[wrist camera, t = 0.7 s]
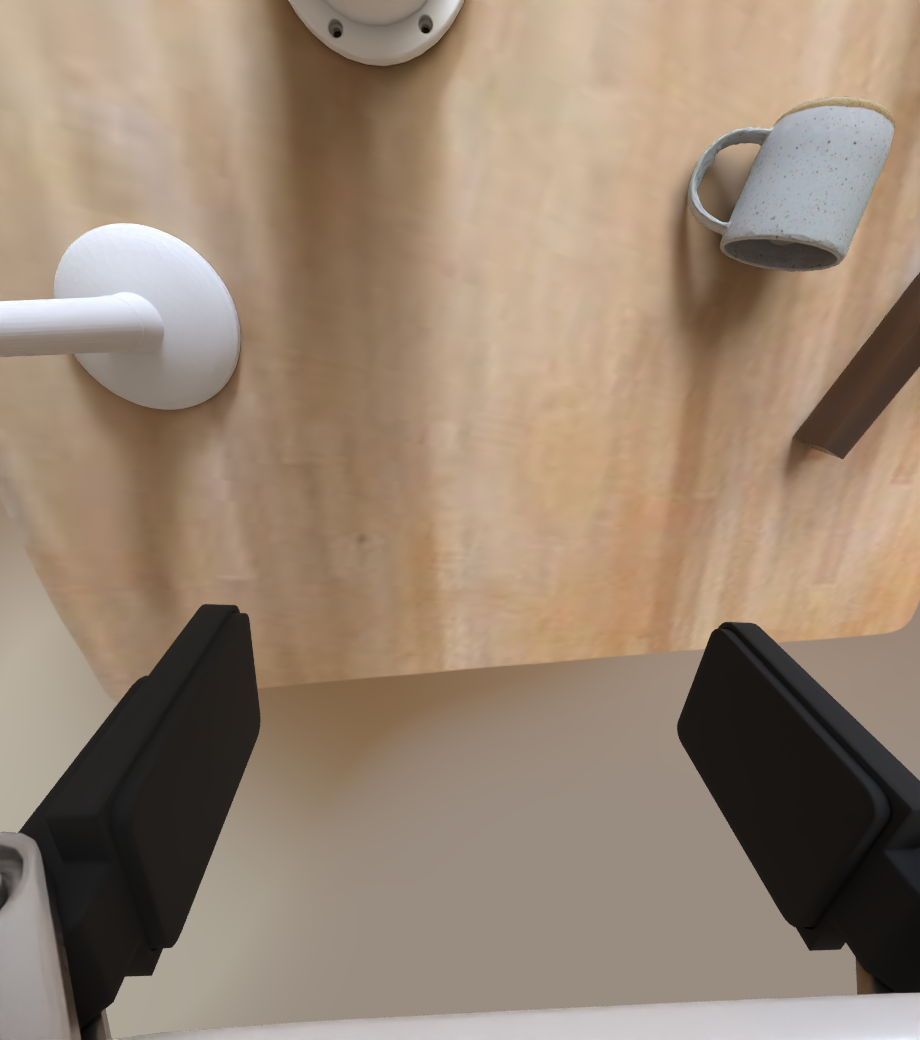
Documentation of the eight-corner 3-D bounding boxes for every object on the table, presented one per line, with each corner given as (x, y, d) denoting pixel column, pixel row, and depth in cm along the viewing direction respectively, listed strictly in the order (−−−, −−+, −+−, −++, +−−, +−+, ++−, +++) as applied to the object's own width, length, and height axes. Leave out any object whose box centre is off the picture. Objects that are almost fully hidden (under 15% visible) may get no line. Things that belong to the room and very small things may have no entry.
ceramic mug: (840, 152, 34) (945, 109, 27) (786, 276, 37) (868, 267, 30) (707, 109, 33) (782, 53, 26) (662, 242, 36) (718, 224, 29)
